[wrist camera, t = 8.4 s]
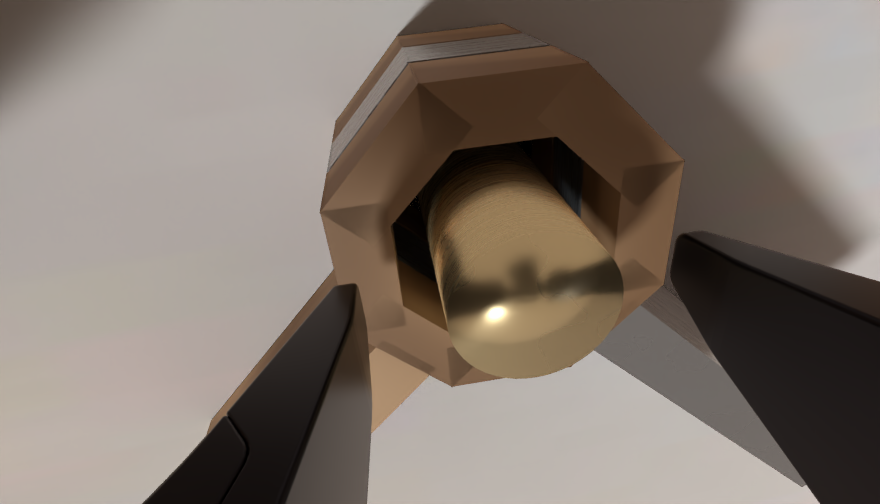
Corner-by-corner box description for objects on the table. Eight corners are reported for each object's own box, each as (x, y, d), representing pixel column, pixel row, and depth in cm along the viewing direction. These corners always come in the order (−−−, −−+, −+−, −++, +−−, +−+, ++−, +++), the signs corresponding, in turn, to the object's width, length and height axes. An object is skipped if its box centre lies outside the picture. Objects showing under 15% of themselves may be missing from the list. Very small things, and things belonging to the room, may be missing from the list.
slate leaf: (296, 174, 15) (260, 289, 10) (445, -33, 13) (501, -28, 7) (646, 398, 22) (732, 532, 17) (779, 290, 20) (925, 407, 15)
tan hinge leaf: (445, -33, 13) (501, -28, 7) (615, 131, 15) (740, 217, 10) (140, 394, 18) (51, 564, 13) (306, 457, 21) (287, 618, 16)
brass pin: (389, 161, 15) (410, 332, 8) (453, 80, 14) (537, 195, 7) (463, 214, 16) (535, 401, 9) (526, 143, 15) (658, 292, 8)
